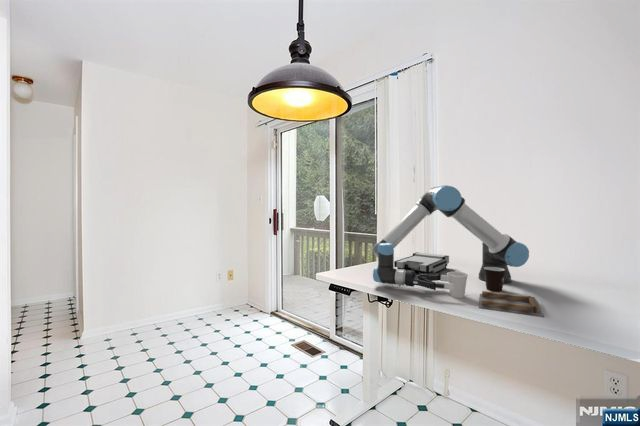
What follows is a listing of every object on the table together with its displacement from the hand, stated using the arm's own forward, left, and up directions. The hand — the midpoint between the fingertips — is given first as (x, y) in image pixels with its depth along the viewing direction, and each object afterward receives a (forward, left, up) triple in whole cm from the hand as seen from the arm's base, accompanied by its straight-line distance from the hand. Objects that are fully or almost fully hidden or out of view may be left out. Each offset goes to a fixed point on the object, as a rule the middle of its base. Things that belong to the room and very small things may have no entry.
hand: (454, 283), depth 137 cm
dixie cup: (-1, 0, -6) cm, 6 cm away
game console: (-4, -51, -6) cm, 52 cm away
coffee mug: (-24, -9, -6) cm, 26 cm away
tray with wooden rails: (-16, +12, -6) cm, 21 cm away
